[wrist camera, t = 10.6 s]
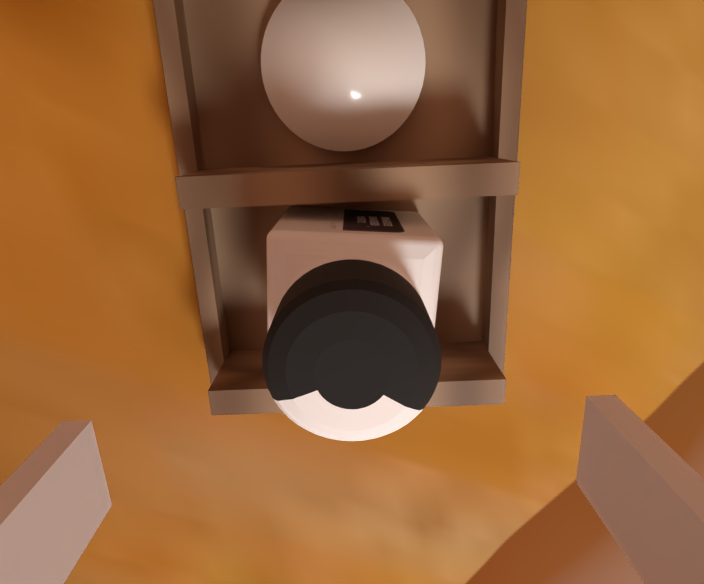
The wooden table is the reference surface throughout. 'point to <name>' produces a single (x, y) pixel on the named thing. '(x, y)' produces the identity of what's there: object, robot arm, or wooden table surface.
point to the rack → (347, 180)
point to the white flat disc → (343, 69)
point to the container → (352, 319)
